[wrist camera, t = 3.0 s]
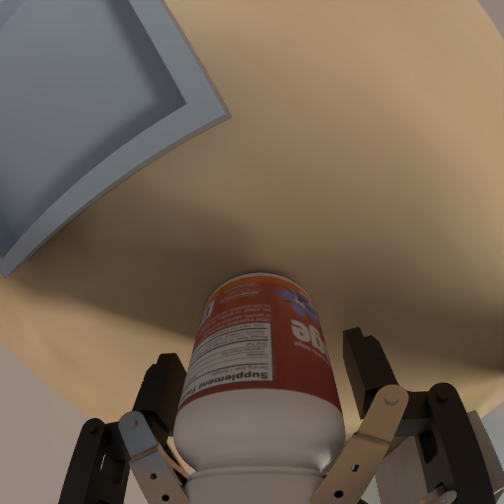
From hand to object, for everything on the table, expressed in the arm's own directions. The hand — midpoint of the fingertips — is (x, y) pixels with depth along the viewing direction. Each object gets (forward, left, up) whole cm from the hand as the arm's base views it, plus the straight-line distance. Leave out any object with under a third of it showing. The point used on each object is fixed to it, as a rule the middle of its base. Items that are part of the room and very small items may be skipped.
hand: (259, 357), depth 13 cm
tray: (+9, -16, -3) cm, 19 cm away
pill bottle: (0, 0, -3) cm, 3 cm away
